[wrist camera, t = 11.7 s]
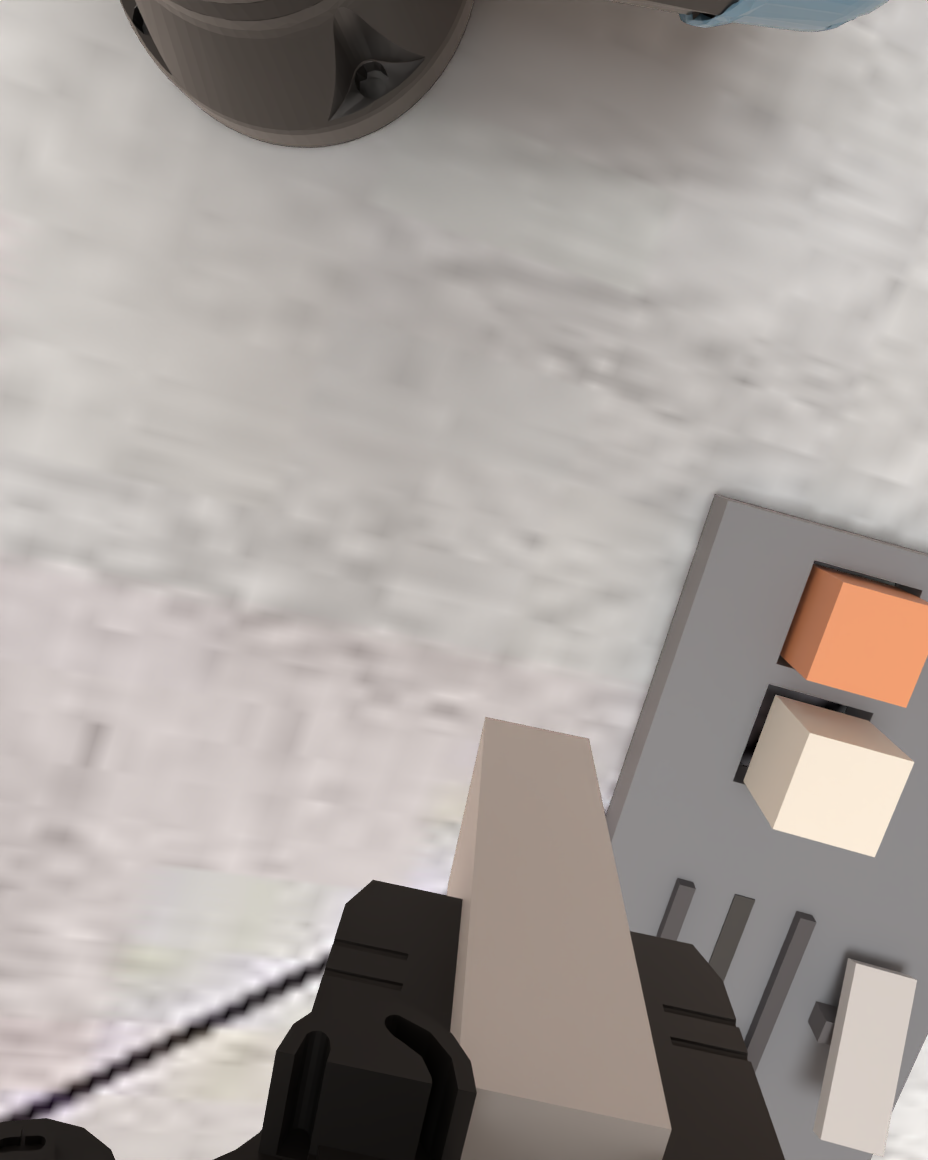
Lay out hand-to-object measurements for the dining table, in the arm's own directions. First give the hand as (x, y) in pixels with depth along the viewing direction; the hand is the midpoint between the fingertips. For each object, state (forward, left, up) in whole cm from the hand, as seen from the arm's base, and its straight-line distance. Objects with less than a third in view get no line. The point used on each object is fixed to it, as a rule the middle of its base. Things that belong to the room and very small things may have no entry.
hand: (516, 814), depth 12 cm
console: (+12, +18, -30) cm, 37 cm away
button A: (0, +16, -29) cm, 33 cm away
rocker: (+19, +23, -25) cm, 39 cm away
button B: (+6, +16, -27) cm, 32 cm away
